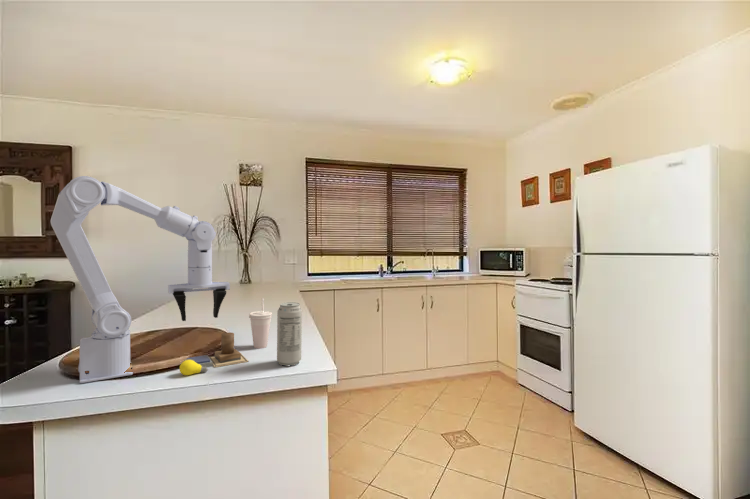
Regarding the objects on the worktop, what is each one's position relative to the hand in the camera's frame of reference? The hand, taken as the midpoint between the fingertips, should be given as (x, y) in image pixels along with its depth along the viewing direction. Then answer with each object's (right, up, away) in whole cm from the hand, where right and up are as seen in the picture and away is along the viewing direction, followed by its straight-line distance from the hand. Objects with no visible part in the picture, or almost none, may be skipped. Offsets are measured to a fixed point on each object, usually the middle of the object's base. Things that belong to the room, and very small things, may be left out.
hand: (199, 318), depth 98 cm
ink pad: (+3, -10, -6) cm, 12 cm away
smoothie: (+13, -10, +9) cm, 19 cm away
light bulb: (+4, -11, -12) cm, 17 cm away
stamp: (+8, -10, -2) cm, 13 cm away
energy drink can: (+24, -11, -3) cm, 27 cm away
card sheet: (+8, -10, -2) cm, 13 cm away
